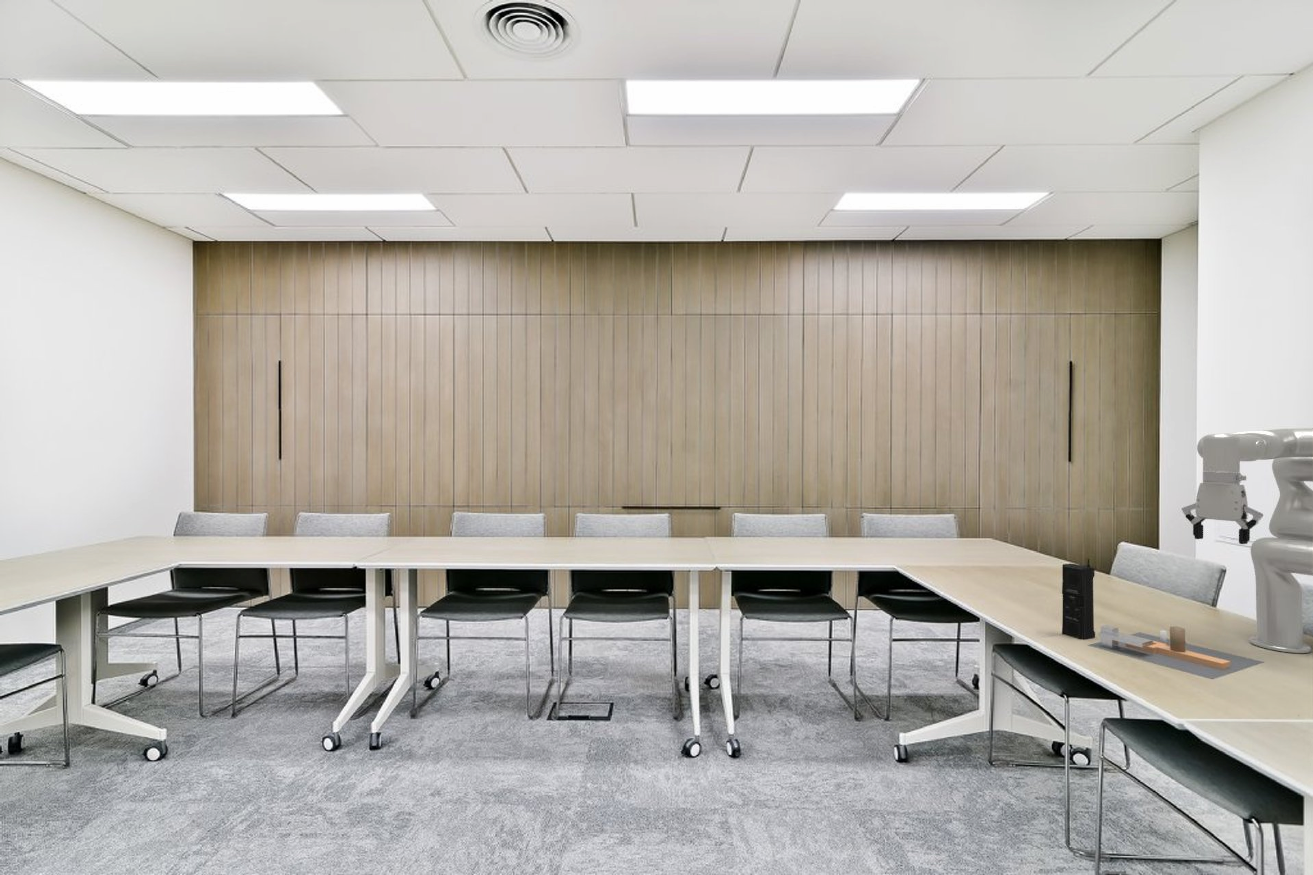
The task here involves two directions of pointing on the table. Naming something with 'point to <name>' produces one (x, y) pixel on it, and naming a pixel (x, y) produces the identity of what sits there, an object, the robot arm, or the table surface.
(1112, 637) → the keeper
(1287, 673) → the table surface
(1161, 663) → the pintle board
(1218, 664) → the link
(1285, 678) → the table surface
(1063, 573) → the portable radio
